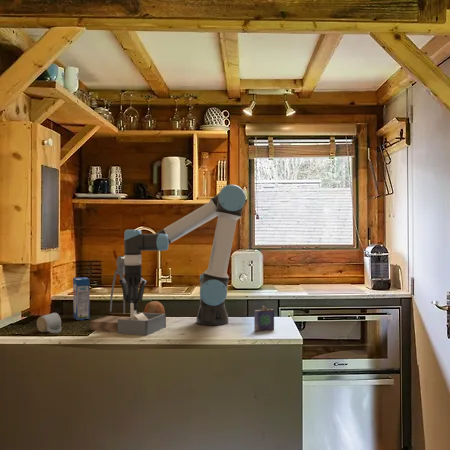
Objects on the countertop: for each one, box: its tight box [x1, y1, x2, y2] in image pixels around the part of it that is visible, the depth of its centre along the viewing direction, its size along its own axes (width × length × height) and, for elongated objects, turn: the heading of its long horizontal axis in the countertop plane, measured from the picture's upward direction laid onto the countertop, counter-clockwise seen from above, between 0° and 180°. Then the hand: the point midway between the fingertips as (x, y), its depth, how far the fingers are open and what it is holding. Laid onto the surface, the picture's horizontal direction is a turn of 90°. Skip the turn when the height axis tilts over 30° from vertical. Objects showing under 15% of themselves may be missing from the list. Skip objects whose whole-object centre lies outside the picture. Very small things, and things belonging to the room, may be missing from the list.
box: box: [117, 311, 167, 336], centre depth 226 cm, size 14×18×6 cm
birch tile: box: [131, 312, 148, 321], centre depth 226 cm, size 7×7×3 cm
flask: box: [253, 305, 275, 332], centre depth 224 cm, size 9×3×11 cm, turn 109°
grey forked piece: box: [109, 255, 130, 315], centre depth 273 cm, size 10×11×30 cm
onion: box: [143, 300, 166, 314], centre depth 245 cm, size 10×10×10 cm
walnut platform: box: [90, 315, 132, 333], centre depth 231 cm, size 14×14×4 cm
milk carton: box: [72, 276, 91, 321], centre depth 255 cm, size 10×6×20 cm, turn 25°
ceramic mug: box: [36, 312, 62, 334], centre depth 224 cm, size 11×8×8 cm
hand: (133, 317), depth 227 cm, fingers closed
